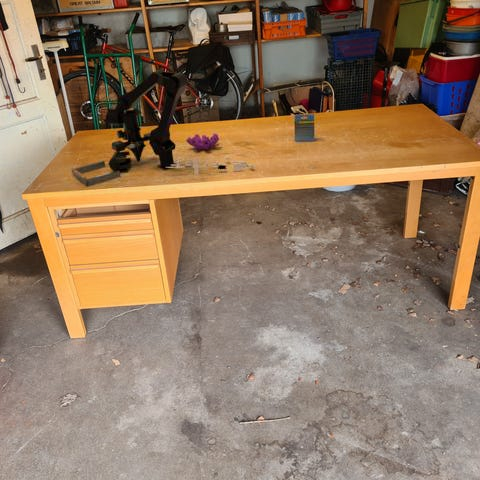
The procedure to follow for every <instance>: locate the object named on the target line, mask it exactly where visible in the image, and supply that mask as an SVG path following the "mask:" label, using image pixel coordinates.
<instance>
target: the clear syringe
mask: <svg viewBox="0 0 480 480" xmlns="http://www.w3.org/2000/svg"><path fill="white" fill-rule="evenodd" d="M229 158H230V157H229V155H227V156H225V160H226V161H229V160H230V159H229ZM175 162H176V163H175V164H169V166H176V167H166V168H169V169H171V168H174V169H175V168H176V169H185V168H187V167H192V168H193V169H194V170H193V171H194V175H199V168H200V169H202V168H203V169H206V168H207V167H209V166H213V168H216V169H217V170H227V169H228V168H227V165H228V166H229V165H230V163H219V161H218V160H216V162H215V163H207V162H205V163H204V164H203V165H201V164H200V163H199V159H198V158H196V157H195V158H193V161H185V164H184V165H185V166H184V165H183V166H182V160H181V159H176V161H175ZM231 165H233V168H232V169H231V170H232V171H242V169H244V168H250V169H254V168H255V165H253V164H249V165H248V161H241V160H240V161H238V160H235V161H233V163H232V164H231Z"/></svg>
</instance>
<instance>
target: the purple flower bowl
mask: <svg viewBox="0 0 480 480" xmlns="http://www.w3.org/2000/svg"><path fill="white" fill-rule="evenodd" d="M201 136H202V137H201ZM201 136H200V134H198V133H196V134H195V135H194V136H193V137H190V136H189V137H187V138H186V142H187V144H188V145H190V146H192V147H193V148H195V149H197V150H208V149H209V148H213V147H214V146H216V144H218V142H219V140H220V137H219V134H217V133H213V134H212V136H210V137H209V136H207V135H206V134H204V135H201Z"/></svg>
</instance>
